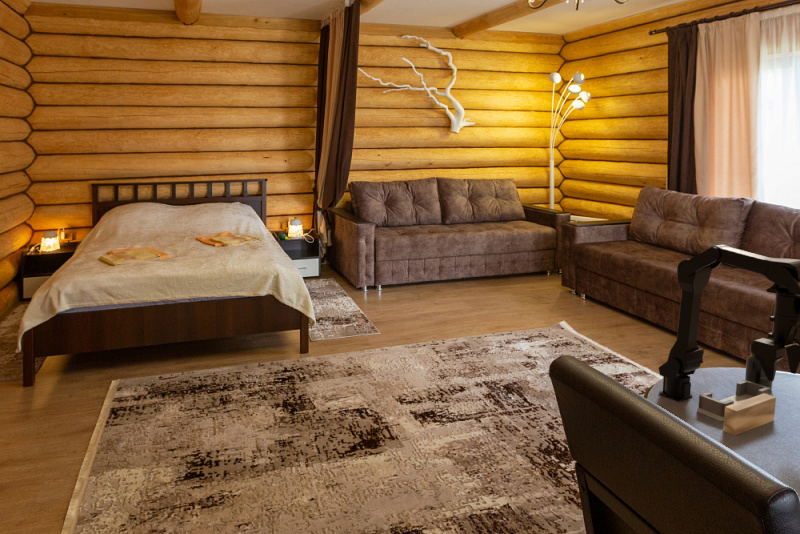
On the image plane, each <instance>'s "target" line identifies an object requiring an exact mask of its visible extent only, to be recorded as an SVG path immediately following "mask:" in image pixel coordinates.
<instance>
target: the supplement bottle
mask: <svg viewBox="0 0 800 534" xmlns="http://www.w3.org/2000/svg"><path fill="white" fill-rule="evenodd" d="M744 378H745V379H744V380H747V381H750V382H753V383H756V384H759V385H763V386H766V387H769V388H771V390H770V392H771V391H772V389H773V382H774V381H769V380H768V379H767V377H766V375H765V372H764V370H763V368H762V366H761V364H760V362H759V360H758V358H757V356H756V355H754V354H753V352H750V355H749V356H747V357H746V363H745V375H744Z"/></svg>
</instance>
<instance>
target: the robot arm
mask: <svg viewBox="0 0 800 534" xmlns="http://www.w3.org/2000/svg"><path fill="white" fill-rule="evenodd" d="M721 264H725V265H728V266H732V267H736V268H739V269H741V270H745V271H749V272H753V273H756V274H759V275H761V276H763V277H764V278H766V279H767V280H768V281H769V282H772V283H773V285H771V286H770V287H768V288H767V289H766V290H765V291H766V292H767V293H771V294H775V297H774V298H775V300H774V301H775V302H774V311H773V315H771V316H769V319H768V320H769V322H772V331H771V332H768V333H767V338H765V337H761V338H758V339H755V340H752V342H750V343H749V352H750V353H751V352H753V354H754V355H756V356H757V358H758V360H759V362H760V364H761V366H762V368H763V370H764V372H765V375H766V377H767V379H768V380H769V381H773V382H774V380H775V377H776V374H777V368H778V365H779V362H780V361H781V360H782V359H784V358H785V356H784V354H785V353H786V357H787V362H788V368H789V372H790V373H791V374H794V375H795V374H797V373H798V370H799V368H800V259H795V258H794V259H793V258H781V257H780V258H777V257H768V256H765V255H761V254H757V253H753V252H750V251H746V250H743V249H739V248H735V247H732V246H731V247H730V246H728V245H727V244H718V245H711V246H710V247H709V248H708V249H706V250H705V251H702V252H701V253H698V254H696V255H694V256H692V257H691V258H686V259H684V260H681V261H680V262H679V263H678V264H677V267H676V273H677V274H676V275H677V283H678V284H679V286H680V288H681V294H680V295H681V296H680V305H679V307H680V308H679V314H678V315H679V316H678V325H677V334H676V335H677V336H676V340H675V342H674V344H673V345H672V346H671V348H670V350H669V354H668V357H667V361H666V362H665V363H663V364H662V365H660V366H659V367H658V372H659V375H660V376H662V377H663V378H662V379H663V380H662V390H661V391H658V394H659V395H662V396H664V397H666V398H669V399H672V400H674V401H675V402H676V401H678V402H680V401H683V400H686V399H688V398H693V394H692V393H691V392H692V391H691V390H692V383H691V376H690V375H694V374H695V372H696V370H697V369H699V368H700V367H701V364H704V359H703V357H704V354H705V351H704V350H705V349H704V348H700V347H699V345H698V342H697V339H698V329H699V321H700V320H699V319H700V312H701V311H700V310H701V302H702V297H703V296H702V294H703V291H704V289H705V288H706V286H707V285H708V284H709V281H710V278H711V275H712V271H713V270H715V269H717V268H718V267H719V266H720V265H721Z"/></svg>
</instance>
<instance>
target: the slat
mask: <svg viewBox="0 0 800 534" xmlns="http://www.w3.org/2000/svg"><path fill="white" fill-rule="evenodd" d="M776 401H777V397H776V396H774V395H771V394H770V395H768V394H765V393H763V394H761V395H758V396H755V397H752V398H749V399H746V400H743V401H740V402H738V403H735V404H732V405H729V406H726V407H725V415H724V421H723V432H725V433H728V434H730V435H732V436H737V435H740V434H742V433H745V432H747V431H751V430H752V429H756V428H758V427H760V426H764V425H766V424H769V423H772V422H774V421H775V412H776V404H777V403H776Z"/></svg>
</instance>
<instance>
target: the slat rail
mask: <svg viewBox="0 0 800 534" xmlns="http://www.w3.org/2000/svg"><path fill="white" fill-rule="evenodd" d="M735 387H736V389H735V395H731V396H729V397H725V398H723V399H721V400H720V399H719V400H718V399H715V398H713V392H710V391H708V392H705V393H702V394H699V396H698V406H697V409H696V412H697V413H699V412H700V414H702V415H705V416H707V417H709V418H712V419H715V420H718V421H720V422H724V415H725V407H726V406H729V405H732V404H735V403H738V402H740V401H743V400H746V399H749V398H752V397H755V396H758V395H761V394H763V393H765V394H768V395H771V391H772V389H771V388H769V387H766V386H763V385H759V384H756V383H753V382H750V381H747V380H745V379H744V380H742V381H739V382H736V386H735ZM770 390H771V391H770Z"/></svg>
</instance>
